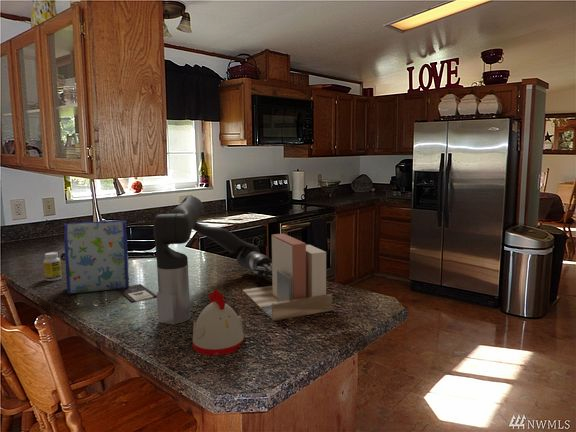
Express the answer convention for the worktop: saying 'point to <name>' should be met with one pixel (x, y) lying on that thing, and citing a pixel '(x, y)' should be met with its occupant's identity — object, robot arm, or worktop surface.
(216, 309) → the kitchen timer
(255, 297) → the rack
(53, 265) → the pill bottle
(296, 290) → the terracotta book
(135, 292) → the chocolate bar
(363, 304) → the worktop surface
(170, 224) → the robot arm
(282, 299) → the bookend
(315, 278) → the cream book
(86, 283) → the lunch bag
